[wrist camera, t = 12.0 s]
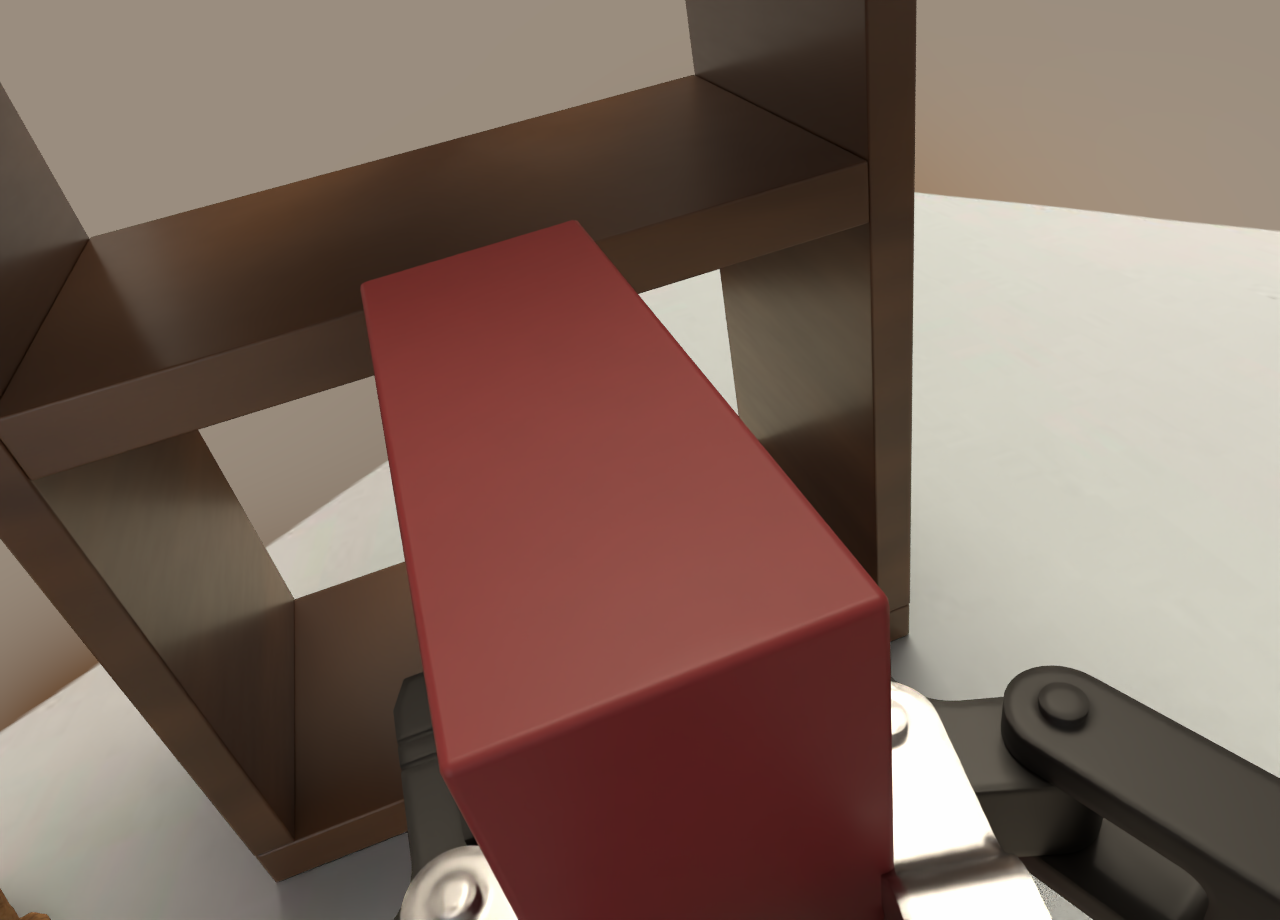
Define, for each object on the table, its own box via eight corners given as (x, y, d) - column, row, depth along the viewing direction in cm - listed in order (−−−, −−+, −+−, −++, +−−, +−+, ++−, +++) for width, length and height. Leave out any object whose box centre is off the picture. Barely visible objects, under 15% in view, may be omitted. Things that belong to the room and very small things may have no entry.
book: (683, 679, 20) (575, 215, 14) (901, 1129, 13) (894, 597, 6) (539, 735, 20) (357, 280, 13) (683, 1235, 12) (437, 776, 6)
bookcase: (770, 463, 39) (654, -630, 20) (910, 635, 30) (930, -1012, 12) (279, 635, 35) (-399, -488, 17) (275, 884, 27) (-1139, -877, 8)
